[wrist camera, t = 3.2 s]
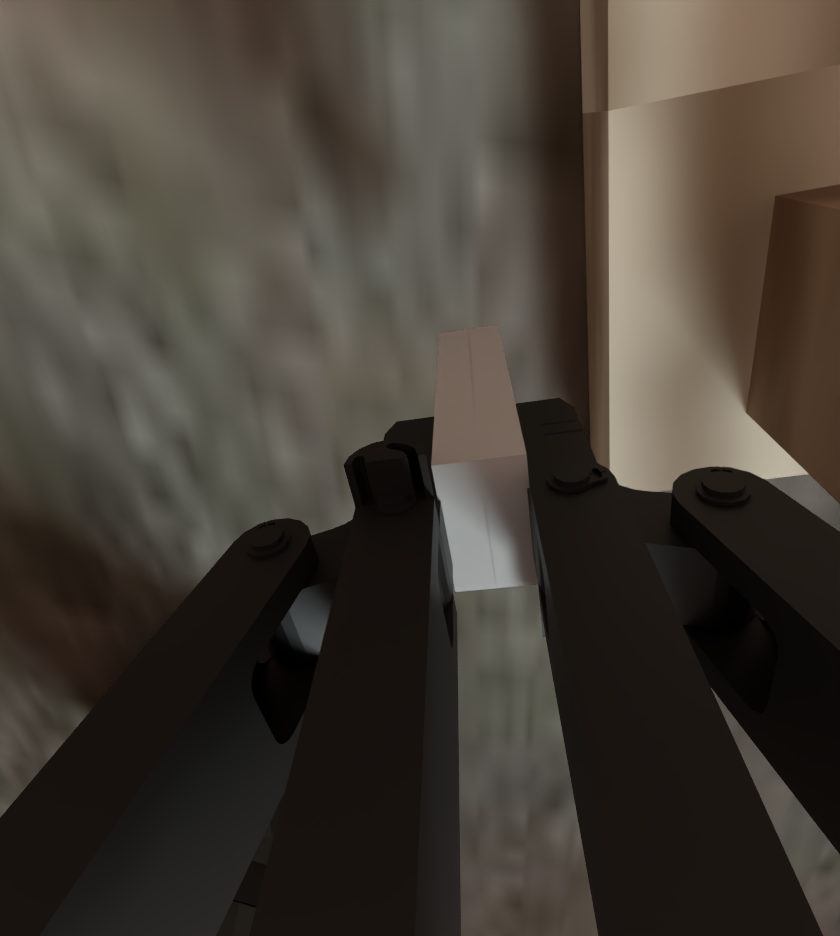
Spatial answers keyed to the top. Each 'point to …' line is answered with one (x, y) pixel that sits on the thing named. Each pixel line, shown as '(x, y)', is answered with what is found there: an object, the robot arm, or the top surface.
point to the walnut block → (801, 334)
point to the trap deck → (693, 215)
